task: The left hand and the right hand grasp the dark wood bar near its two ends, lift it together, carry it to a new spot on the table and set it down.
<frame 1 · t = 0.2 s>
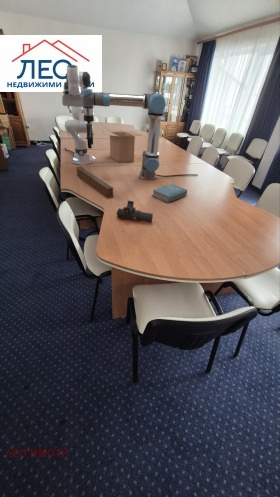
left hand: (76, 113, 178), 48 cm above the table, tool pointing down, fingers open, 8 cm apart
right hand: (90, 146, 173), 28 cm above the table, tool pointing down, fingers open, 13 cm apart
box: (121, 158, 252), on the table
bar: (93, 185, 182), on the table
book: (169, 196, 173), on the table
laser sight: (134, 220, 139), on the table
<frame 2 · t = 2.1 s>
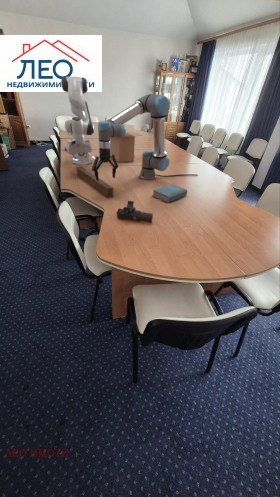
left hand: (80, 158, 187), 16 cm above the table, tool pointing down, fingers open, 8 cm apart
right hand: (105, 178, 161), 12 cm above the table, tool pointing down, fingers open, 13 cm apart
nothing on the table moved.
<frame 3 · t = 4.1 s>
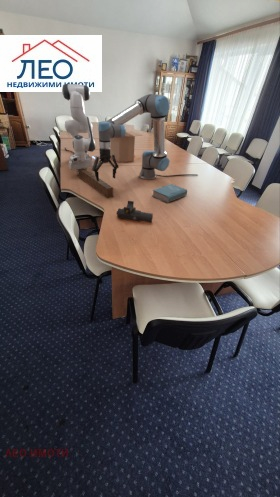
left hand: (81, 173, 194), 3 cm above the table, tool pointing down, fingers closed on bar, 5 cm apart
right hand: (105, 179, 161), 12 cm above the table, tool pointing down, fingers open, 13 cm apart
bar: (93, 185, 182), on the table, touching left hand
everything else where it was.
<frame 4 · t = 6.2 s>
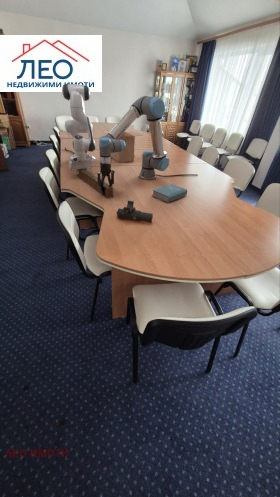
left hand: (81, 173, 194), 3 cm above the table, tool pointing down, fingers closed on bar, 5 cm apart
right hand: (106, 194, 168), 1 cm above the table, tool pointing down, fingers closed on bar, 5 cm apart
bar: (93, 185, 182), on the table, touching right hand, left hand
everything else where it was.
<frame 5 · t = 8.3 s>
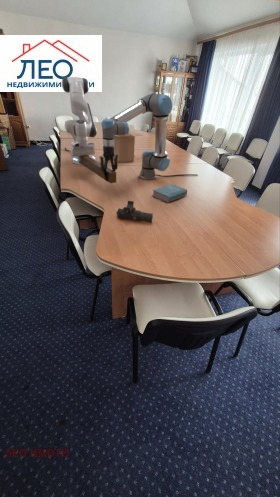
left hand: (83, 160, 189), 14 cm above the table, tool pointing down, fingers closed on bar, 5 cm apart
right hand: (109, 179, 162), 11 cm above the table, tool pointing down, fingers closed on bar, 5 cm apart
bar: (95, 171, 177), point 11 cm above the table, touching right hand, left hand
everything else where it was.
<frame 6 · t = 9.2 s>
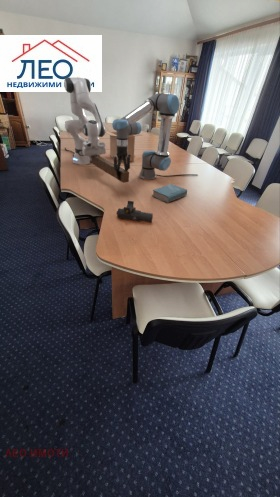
left hand: (94, 160, 191), 14 cm above the table, tool pointing down, fingers closed on bar, 5 cm apart
right hand: (121, 179, 165), 11 cm above the table, tool pointing down, fingers closed on bar, 5 cm apart
bar: (107, 171, 179), point 11 cm above the table, touching right hand, left hand
everything else where it was.
when the right hand's fingers open (2 cm above the table, at t = 12.3 s): bar drops 2 cm, on the table.
when the left hand's fingers open (4 cm above the table, at t = 12.4 s): bar stays where it is, on the table.
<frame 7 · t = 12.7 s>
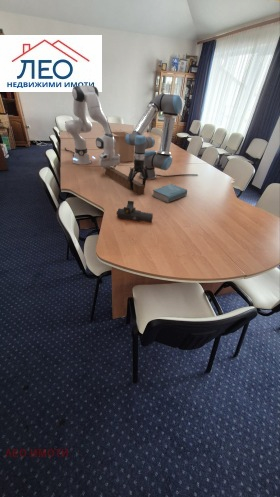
left hand: (109, 170, 200), 4 cm above the table, tool pointing down, fingers open, 7 cm apart
right hand: (137, 188, 173), 3 cm above the table, tool pointing down, fingers open, 11 cm apart
bar: (122, 183, 189), on the table
everything else where it was.
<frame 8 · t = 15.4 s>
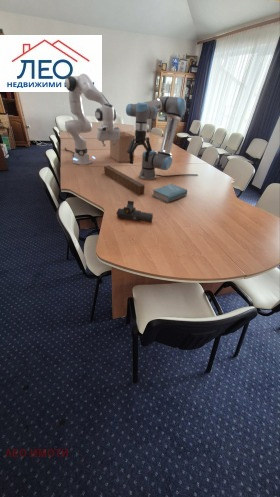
left hand: (109, 145, 188), 26 cm above the table, tool pointing down, fingers open, 8 cm apart
right hand: (139, 162, 161), 23 cm above the table, tool pointing down, fingers open, 13 cm apart
nothing on the table moved.
at the end: bar inside the target area (0.2 cm from its centre), on the table; bar tilted 0°; bar never tilted more than 2° during the clip; both hands held the bar at the same time; the left hand is holding nothing; the right hand is holding nothing; bar at rest at the end (0.0 cm/s) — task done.
